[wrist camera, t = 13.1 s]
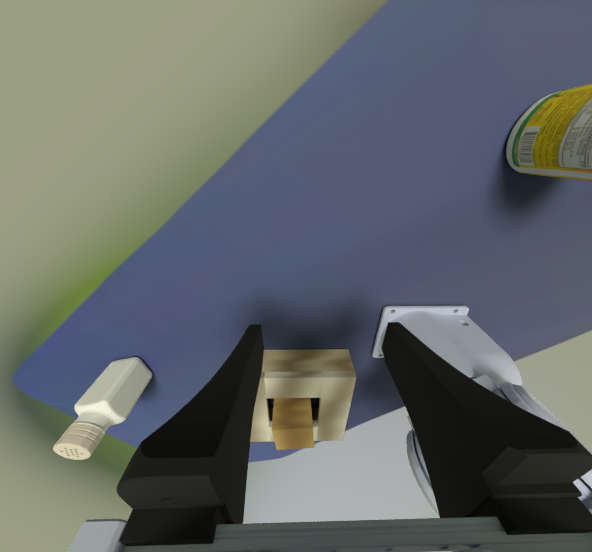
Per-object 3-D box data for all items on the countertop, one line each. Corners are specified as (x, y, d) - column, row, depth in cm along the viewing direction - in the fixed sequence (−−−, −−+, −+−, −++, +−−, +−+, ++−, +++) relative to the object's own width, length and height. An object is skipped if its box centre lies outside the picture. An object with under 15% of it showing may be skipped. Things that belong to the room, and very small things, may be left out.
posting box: (348, 349, 28) (356, 377, 25) (337, 411, 35) (342, 440, 32) (237, 350, 28) (230, 378, 24) (248, 412, 35) (244, 441, 31)
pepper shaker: (156, 374, 30) (104, 459, 22) (129, 378, 30) (68, 464, 22) (139, 354, 28) (75, 439, 20) (111, 359, 28) (36, 444, 20)
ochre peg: (308, 371, 30) (312, 427, 24) (310, 391, 33) (314, 447, 26) (275, 374, 30) (271, 430, 24) (279, 393, 33) (276, 449, 27)
